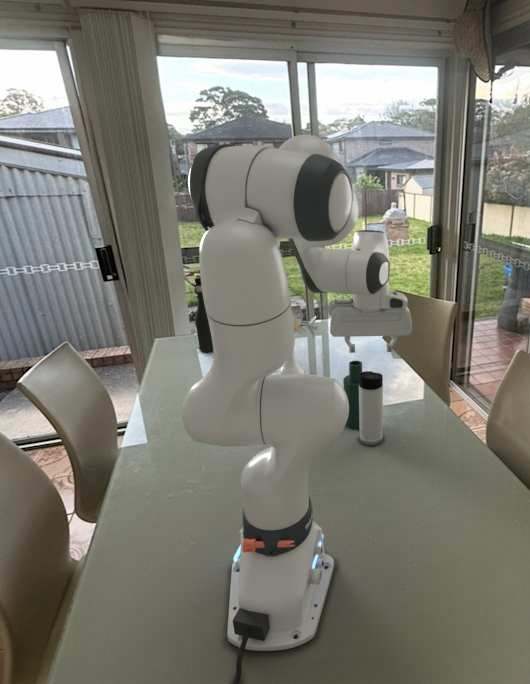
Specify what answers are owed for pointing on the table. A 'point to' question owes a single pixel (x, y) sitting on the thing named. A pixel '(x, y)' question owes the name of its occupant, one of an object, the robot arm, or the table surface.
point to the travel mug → (371, 407)
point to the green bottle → (353, 393)
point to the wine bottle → (202, 322)
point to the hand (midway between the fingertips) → (371, 351)
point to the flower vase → (291, 364)
